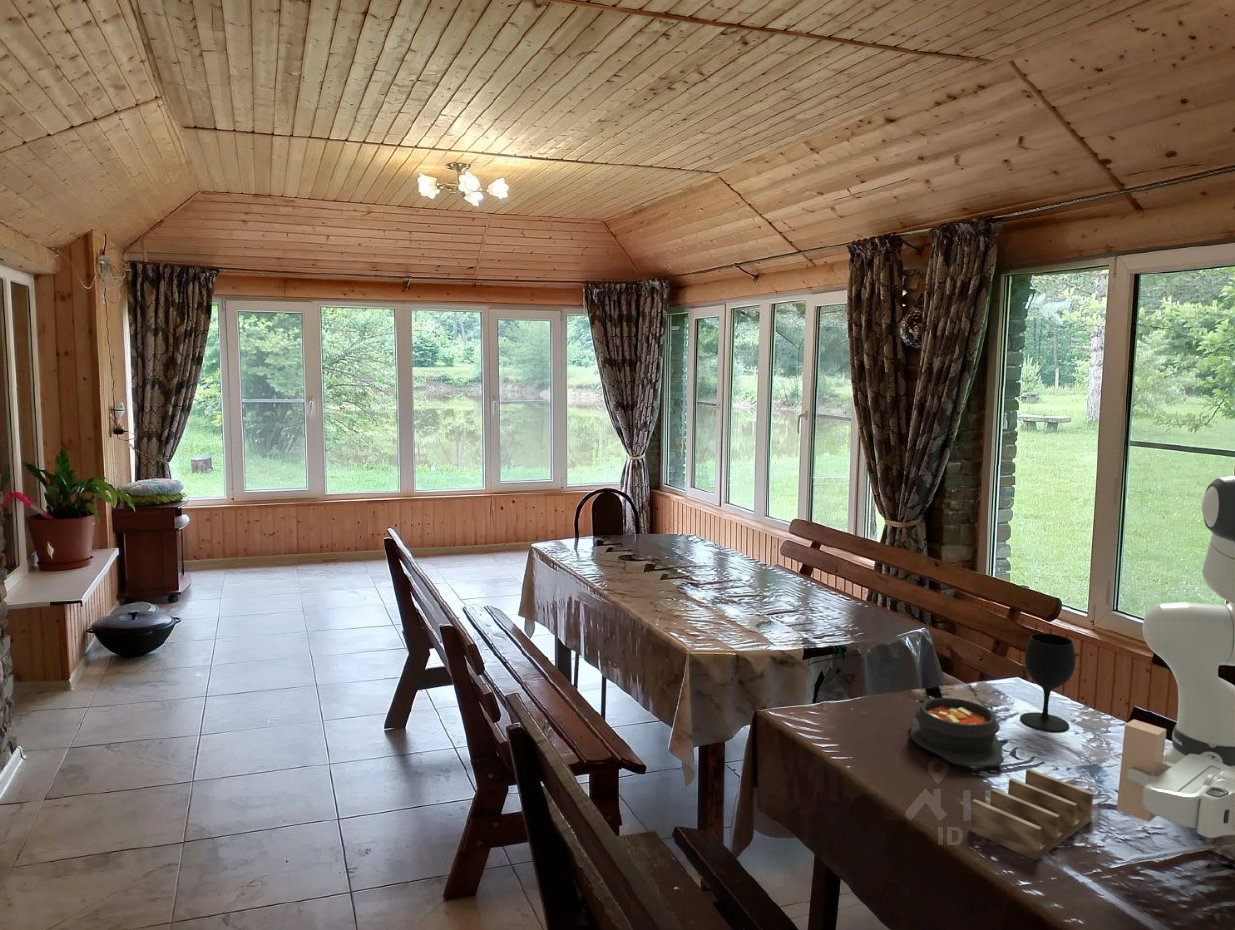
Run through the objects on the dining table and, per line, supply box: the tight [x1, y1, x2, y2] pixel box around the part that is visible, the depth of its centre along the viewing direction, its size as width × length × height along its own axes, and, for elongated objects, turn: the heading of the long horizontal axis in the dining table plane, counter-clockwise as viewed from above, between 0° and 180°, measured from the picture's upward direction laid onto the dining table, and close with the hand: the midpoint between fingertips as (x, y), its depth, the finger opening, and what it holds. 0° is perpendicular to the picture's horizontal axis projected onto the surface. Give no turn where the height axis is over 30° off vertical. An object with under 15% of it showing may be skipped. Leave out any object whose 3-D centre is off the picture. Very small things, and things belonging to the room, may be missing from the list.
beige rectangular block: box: [1116, 719, 1167, 823], centre depth 150 cm, size 5×4×15 cm
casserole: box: [909, 697, 1005, 768], centre depth 194 cm, size 25×19×8 cm
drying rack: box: [969, 767, 1094, 861], centre depth 163 cm, size 12×21×6 cm, turn 129°
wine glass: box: [1019, 632, 1077, 733], centre depth 207 cm, size 10×10×20 cm
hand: (1135, 767), depth 150 cm, fingers closed on beige rectangular block, 3 cm apart
